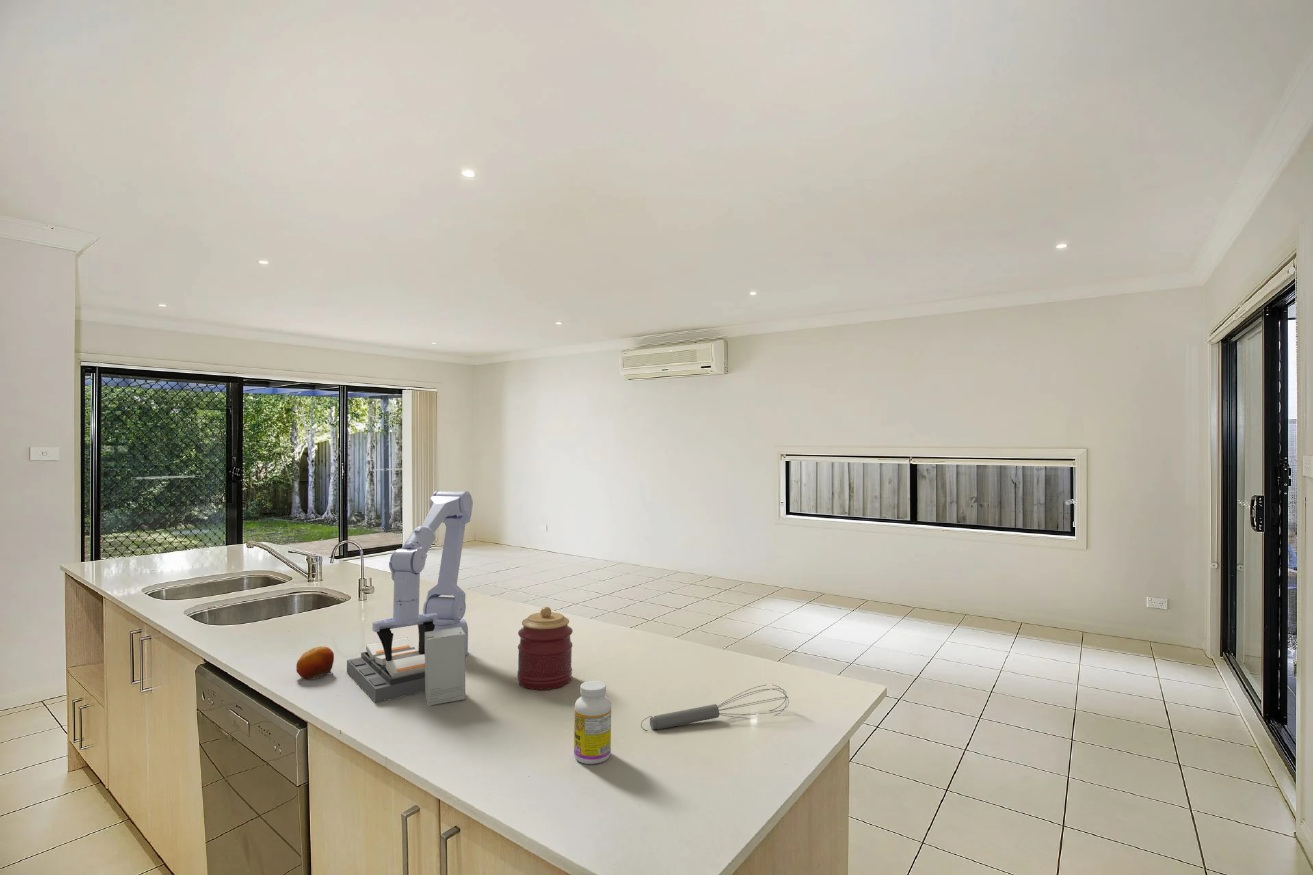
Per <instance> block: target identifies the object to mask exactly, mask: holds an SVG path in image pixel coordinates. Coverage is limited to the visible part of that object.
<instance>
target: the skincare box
mask: <svg viewBox="0 0 1313 875" xmlns="http://www.w3.org/2000/svg"><path fill="white" fill-rule="evenodd" d="M424 697H425V701H426V704H427V706H428V707H431V706H434V705H440V704H445V703H450V702H451V703H452V702H457V701H463V700H466V655H465V633H464V631H463V630H462V628H461V627H457V628H451V629H444V630H437V631H430V632H425V691H424Z"/></svg>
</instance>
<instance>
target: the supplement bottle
mask: <svg viewBox="0 0 1313 875" xmlns="http://www.w3.org/2000/svg"><path fill="white" fill-rule="evenodd" d="M579 689H580V690H579V693H580V695H581V696H579V698H577V699H576V701H575V703H574V728H573V729H574V730H573V756H574V758H575V759H576V761H578V762H579V763H581V764H585V765H595V764H597V765H598V764H601V763H604V762H606V761H607V760H608V759H609V758H610V756H611V752H612V751H611V750H612V702H611V700H610V698H609V697H608V696H606V694H607V684H606V682H603V681H601V680H589V681H584V682H583V683H581V684H580V688H579Z"/></svg>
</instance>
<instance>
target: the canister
mask: <svg viewBox="0 0 1313 875" xmlns="http://www.w3.org/2000/svg"><path fill="white" fill-rule="evenodd" d="M569 623H570V619H569V618H568V617H566V616H564V615H563V614H562V613H559V612H553V611H552V609H551V608H550V607H549V606H543V607H542V608H540V611H539V612H536V613H532V614H530V615H529V616H527V617H525V619H523V620H522V621H521V625H522V626H523V627H521V628H520V629H519V630H518V632H517V634H518V637H520V640H519V643H518V646H517V649H518V661H517V663H518V667H517V668H518V669H517V671H516V672H517V679H518V680H517V681H518V682H517V683H518V684H519V685H520V686H521V687H524V688H526V689H530V690H537V691H539V690H540V691H543V690H552V689H553V690H554V689H556V688H557V689H558V688H561V687H562V686H565V685H567V684H569V683H570V682H571V680H572V674H573V668H572V650H573V649H572V648H573V642H572V641H571V640H572V639H571V635H572V634H573V629H572V627H570V626H569Z"/></svg>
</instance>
